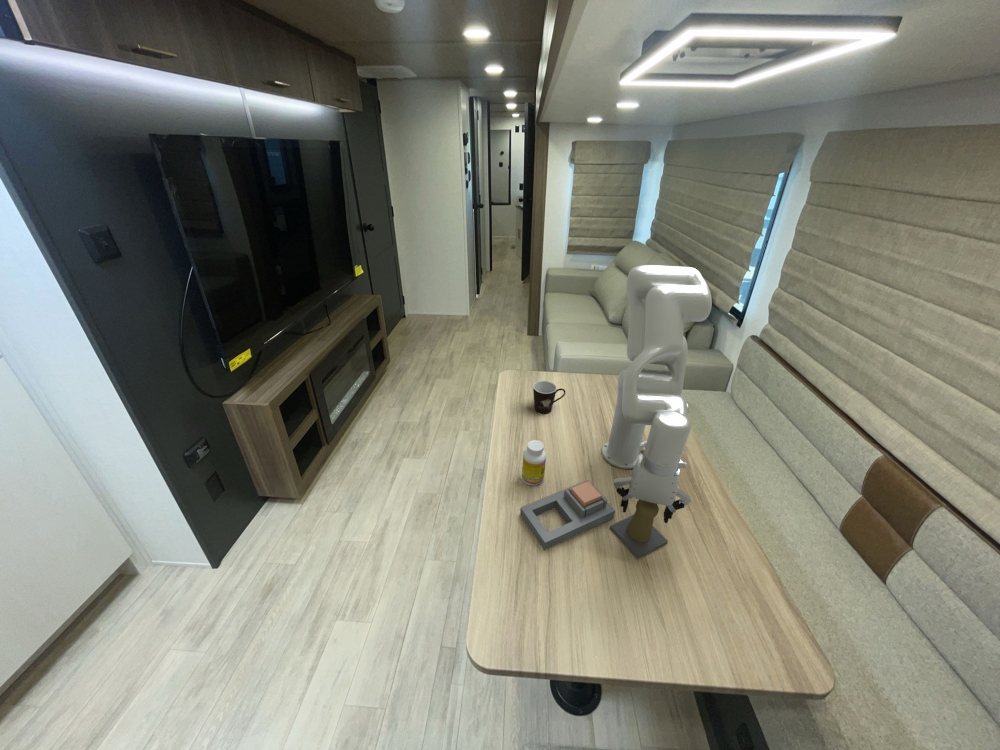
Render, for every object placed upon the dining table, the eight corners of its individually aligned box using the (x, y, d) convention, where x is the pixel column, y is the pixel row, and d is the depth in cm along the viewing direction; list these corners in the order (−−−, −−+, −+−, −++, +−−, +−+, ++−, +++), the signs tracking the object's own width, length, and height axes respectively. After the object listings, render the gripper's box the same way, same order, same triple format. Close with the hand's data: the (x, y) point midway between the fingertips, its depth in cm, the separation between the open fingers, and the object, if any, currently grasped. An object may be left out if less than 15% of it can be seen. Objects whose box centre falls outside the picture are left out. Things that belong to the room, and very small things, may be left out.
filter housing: (585, 487, 115) (588, 473, 112) (613, 518, 105) (617, 503, 103) (520, 514, 106) (521, 500, 103) (544, 550, 97) (546, 536, 94)
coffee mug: (529, 413, 145) (530, 391, 140) (534, 401, 152) (535, 379, 147) (560, 419, 143) (563, 396, 137) (564, 406, 150) (566, 384, 145)
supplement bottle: (542, 488, 114) (545, 455, 107) (519, 484, 115) (522, 451, 109) (544, 472, 120) (548, 439, 113) (523, 468, 121) (525, 436, 114)
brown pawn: (651, 546, 97) (662, 515, 92) (625, 538, 99) (635, 508, 93) (650, 526, 102) (661, 497, 97) (626, 520, 104) (636, 490, 98)
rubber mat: (638, 514, 107) (639, 512, 106) (667, 543, 99) (668, 540, 99) (609, 527, 103) (610, 525, 102) (637, 559, 95) (638, 557, 95)
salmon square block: (586, 489, 109) (588, 481, 108) (599, 503, 105) (601, 495, 103) (570, 495, 107) (571, 488, 105) (583, 510, 103) (584, 502, 101)
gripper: (700, 459, 89) (680, 510, 98) (621, 442, 93) (609, 493, 102) (704, 482, 83) (683, 535, 91) (619, 463, 87) (607, 516, 96)
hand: (644, 513), depth 97 cm, fingers open, 9 cm apart
